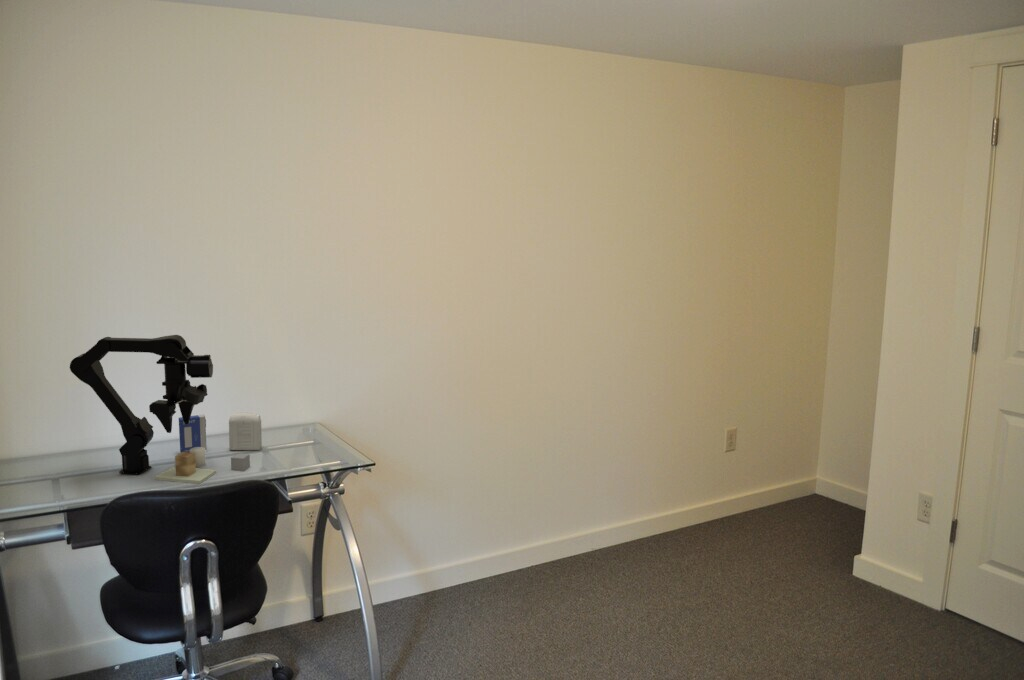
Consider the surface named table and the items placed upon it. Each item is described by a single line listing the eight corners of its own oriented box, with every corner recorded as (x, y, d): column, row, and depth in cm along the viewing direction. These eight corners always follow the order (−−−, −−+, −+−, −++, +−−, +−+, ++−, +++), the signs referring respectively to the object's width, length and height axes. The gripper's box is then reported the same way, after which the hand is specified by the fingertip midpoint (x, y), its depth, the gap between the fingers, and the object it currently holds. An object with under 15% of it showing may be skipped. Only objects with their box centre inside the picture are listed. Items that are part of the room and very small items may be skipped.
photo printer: (263, 446, 252) (262, 411, 250) (260, 450, 248) (259, 414, 246) (231, 447, 251) (229, 411, 248) (228, 451, 246) (226, 414, 244)
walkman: (182, 454, 242) (180, 418, 240) (180, 452, 244) (178, 416, 242) (207, 450, 246) (206, 415, 244) (205, 448, 249) (204, 413, 246)
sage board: (155, 479, 220) (155, 477, 220) (173, 469, 229) (172, 466, 229) (199, 483, 218) (199, 480, 218) (216, 472, 227) (216, 470, 227)
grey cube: (231, 470, 230) (230, 457, 229) (237, 465, 234) (237, 453, 233) (243, 471, 229) (243, 458, 229) (249, 466, 233) (249, 454, 233)
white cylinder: (187, 466, 232) (186, 450, 231) (195, 461, 236) (194, 446, 235) (201, 467, 231) (200, 452, 230) (208, 462, 235) (207, 447, 234)
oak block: (175, 475, 222) (174, 456, 221) (183, 470, 226) (182, 451, 224) (188, 476, 221) (187, 457, 220) (196, 471, 225) (195, 452, 224)
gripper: (183, 386, 214) (185, 439, 217) (217, 372, 232) (219, 421, 235) (146, 384, 215) (149, 436, 218) (183, 370, 233) (185, 418, 236)
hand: (178, 428), depth 227 cm, fingers open, 9 cm apart
